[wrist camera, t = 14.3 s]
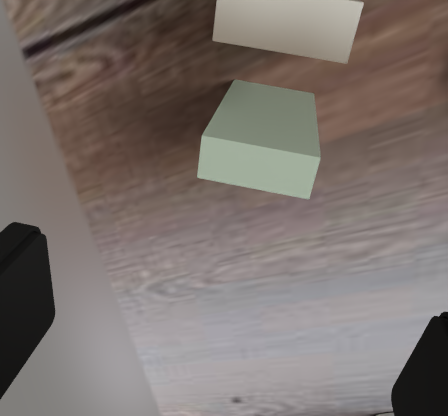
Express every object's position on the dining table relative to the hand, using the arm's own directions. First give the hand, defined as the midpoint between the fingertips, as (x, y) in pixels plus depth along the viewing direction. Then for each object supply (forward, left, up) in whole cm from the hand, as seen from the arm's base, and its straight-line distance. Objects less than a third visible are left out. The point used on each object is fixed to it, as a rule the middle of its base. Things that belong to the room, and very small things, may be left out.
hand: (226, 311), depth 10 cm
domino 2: (0, 0, -19) cm, 19 cm away
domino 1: (-6, 0, -19) cm, 20 cm away
